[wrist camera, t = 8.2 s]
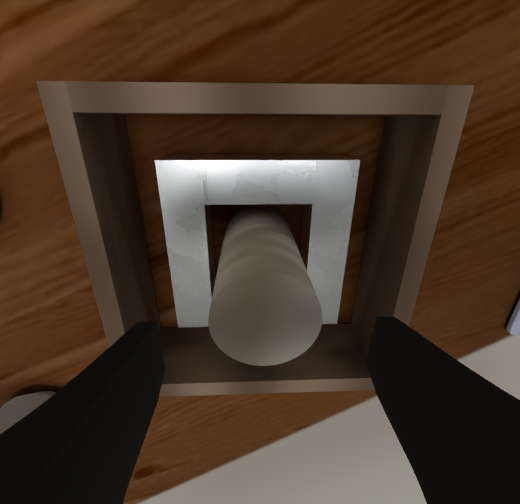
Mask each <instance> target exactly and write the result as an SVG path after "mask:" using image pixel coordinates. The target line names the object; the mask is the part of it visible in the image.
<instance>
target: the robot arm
mask: <svg viewBox="0 0 520 504" xmlns="http://www.w3.org/2000/svg"><path fill="white" fill-rule="evenodd" d="M506 330H507V331H508V332H509V333H510V334H512V335H520V299H519V301H518V303H517V305H516V308H515V310H514V312H513V314H512V317H511V319H510V321H509V323H508V326H507V329H506ZM366 365H367V368H368V371H369V374H370V377H371V380H372V383H373V385H374V388H375V391H376V394H377V396H378V398H379V400H380V402H381V404H382V406H383V409H384V411H385V413H386V415H387V417H388V419H389V421H390V423H391V425H392V427H393V429H394V431H395V433H396V435H397V437H398V439H399V442H400V444H401V445H402V447H403V450H404V452H405V454H406V456H407V458H408V460H409V462H410V464H411V466H412V468H413V470H414V473H415V475H416V477H417V480H418V482H419V484H420V487H421V489H422V492H423V494H424V497H425V499H426V502H427V504H520V400H518V399H517V398H515V397H513V396H512V395H510V394H508V393H507V392H505V391H503V390H502V389H500V388H499V387H497V386H495V385H494V384H492V383H491V382H489V381H488V380H486V379H484V378H483V377H481V376H480V375H478V374H477V373H475V372H473V371H472V370H470V369H469V368H468V367H466V366H464V365H463V364H462V363H460V362H459V361H457V360H456V359H454V358H453V357H451V356H450V355H448V354H447V353H446V352H444V351H443V350H441V349H440V348H438V347H437V346H436V345H434V344H433V343H431V342H430V341H429V340H427V339H426V338H424V337H423V336H422V335H420V334H419V333H417V332H416V331H415V330H413V329H412V328H410V327H409V326H407V325H406V324H405V323H403V322H402V321H400V320H399V319H397V318H395V317H394V316H390V317H376V318H375V322H374V327H373V332H372V337H371V342H370V346H369V351H368V356H367V361H366ZM164 372H165V364H164V359H163V353H162V347H161V342H160V336H159V330H158V325H157V321H147V322H137V323H136V324H135V325H134V326H132V327H131V328H130V329H129V330H128V331H127V332H126V333H125V334H124V335H122V336H121V337H120V338H119V339H118V340H117V341H116V342H115V343H114V344H113V345H111V346H110V347H109V348H108V349H107V350H106V351H105V352H104V353H103V354H101V355H100V356H99V357H98V358H97V359H96V360H95V361H93V362H92V363H91V364H90V365H89V366H88V367H87V368H86V369H84V370H83V371H82V372H81V373H79V374H78V375H77V376H76V377H75V378H73V379H72V380H71V381H70V382H69V383H67V384H66V385H65V386H64V387H62V388H61V389H60V390H59V391H58V392H56V393H55V394H54V395H53V396H51V397H50V398H49V399H48V400H46V401H45V402H44V403H42V404H41V405H40V406H38V407H37V408H36V409H34V410H33V411H32V412H30V413H29V414H28V415H26V416H25V417H24V418H22V419H21V420H19V421H18V422H17V423H15V424H14V425H12V426H11V427H10V428H8V429H7V430H5V431H4V432H3V433H1V434H0V504H123V500H124V497H125V494H126V491H127V487H128V484H129V481H130V478H131V475H132V472H133V470H134V467H135V464H136V461H137V458H138V456H139V453H140V450H141V447H142V444H143V441H144V439H145V436H146V433H147V430H148V427H149V425H150V422H151V419H152V416H153V413H154V410H155V407H156V405H157V402H158V398H159V394H160V390H161V386H162V381H163V377H164Z"/></svg>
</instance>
